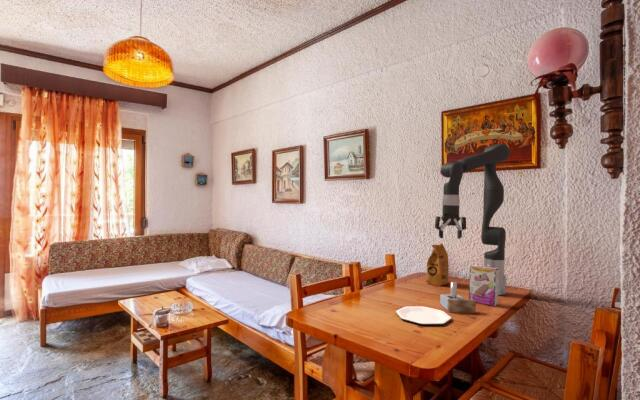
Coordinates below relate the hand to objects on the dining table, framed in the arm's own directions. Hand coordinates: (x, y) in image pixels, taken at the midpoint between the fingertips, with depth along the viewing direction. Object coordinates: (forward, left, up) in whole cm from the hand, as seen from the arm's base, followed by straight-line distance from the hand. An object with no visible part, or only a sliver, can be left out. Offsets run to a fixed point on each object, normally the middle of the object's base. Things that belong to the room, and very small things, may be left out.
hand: (450, 238), depth 164 cm
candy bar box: (-12, +9, -28) cm, 32 cm away
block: (+5, +16, -28) cm, 33 cm away
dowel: (+5, +16, -27) cm, 32 cm away
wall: (+4, +21, -28) cm, 35 cm away
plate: (+22, +28, -29) cm, 46 cm away
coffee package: (-4, -26, -28) cm, 39 cm away
